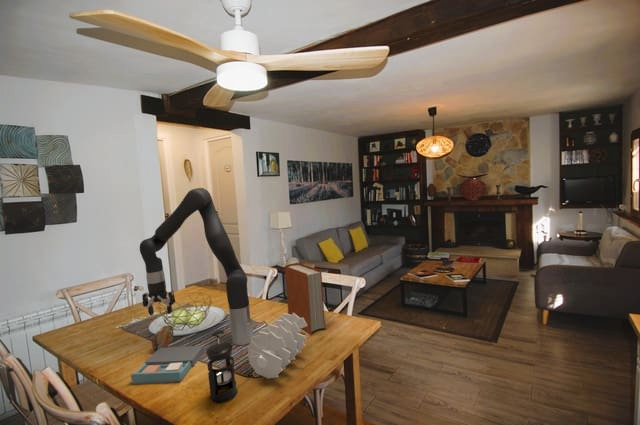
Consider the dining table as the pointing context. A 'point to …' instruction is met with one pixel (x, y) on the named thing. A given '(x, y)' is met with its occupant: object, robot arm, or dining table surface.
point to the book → (305, 295)
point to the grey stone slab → (176, 355)
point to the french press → (221, 371)
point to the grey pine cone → (276, 345)
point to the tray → (160, 375)
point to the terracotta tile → (152, 368)
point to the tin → (162, 337)
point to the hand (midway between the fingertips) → (160, 314)
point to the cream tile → (174, 367)
